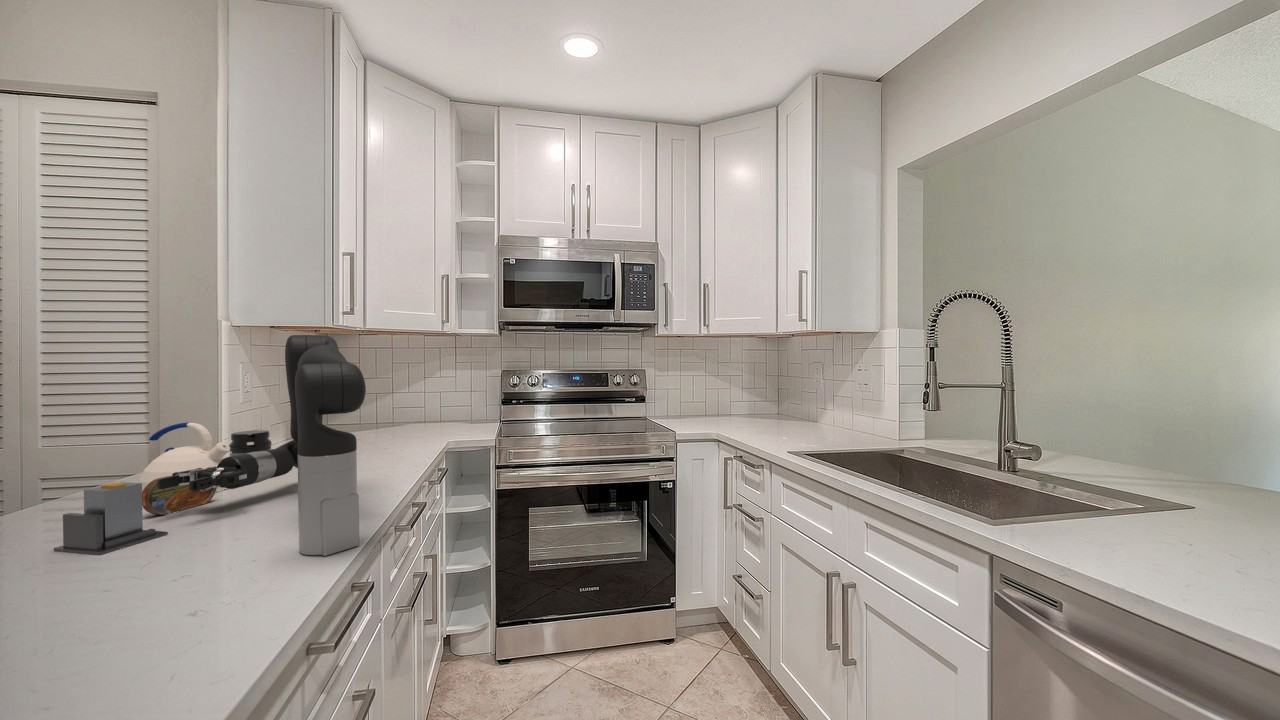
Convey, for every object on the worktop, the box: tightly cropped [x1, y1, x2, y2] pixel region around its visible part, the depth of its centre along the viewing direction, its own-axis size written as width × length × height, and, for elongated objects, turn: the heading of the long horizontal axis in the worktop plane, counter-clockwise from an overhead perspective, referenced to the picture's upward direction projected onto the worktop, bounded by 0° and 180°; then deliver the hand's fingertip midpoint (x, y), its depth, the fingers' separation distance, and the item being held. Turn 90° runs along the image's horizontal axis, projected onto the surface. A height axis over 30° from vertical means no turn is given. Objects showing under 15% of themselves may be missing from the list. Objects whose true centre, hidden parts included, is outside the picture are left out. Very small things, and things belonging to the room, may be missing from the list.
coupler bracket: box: [53, 512, 169, 556], centre depth 99 cm, size 11×11×6 cm
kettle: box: [137, 421, 230, 492], centre depth 139 cm, size 20×21×18 cm
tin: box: [142, 475, 217, 516], centre depth 121 cm, size 15×3×8 cm, turn 168°
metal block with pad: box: [83, 481, 144, 542], centre depth 99 cm, size 6×5×10 cm
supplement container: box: [229, 429, 273, 457], centre depth 162 cm, size 10×10×12 cm
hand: (174, 485), depth 110 cm, fingers open, 8 cm apart
